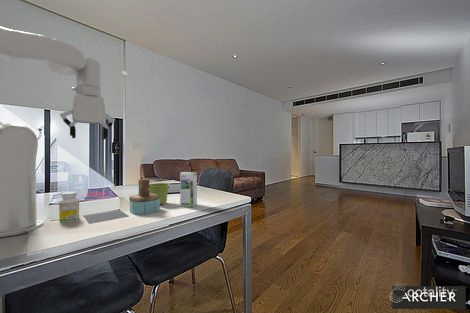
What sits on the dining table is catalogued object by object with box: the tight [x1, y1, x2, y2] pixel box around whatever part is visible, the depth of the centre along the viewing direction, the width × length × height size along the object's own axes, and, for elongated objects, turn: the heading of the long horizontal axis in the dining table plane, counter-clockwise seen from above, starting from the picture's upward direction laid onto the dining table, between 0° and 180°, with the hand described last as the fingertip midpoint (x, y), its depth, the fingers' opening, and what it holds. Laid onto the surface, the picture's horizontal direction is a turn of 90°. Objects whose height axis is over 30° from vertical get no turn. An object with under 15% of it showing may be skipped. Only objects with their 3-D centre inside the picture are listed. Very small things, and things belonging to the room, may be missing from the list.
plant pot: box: [149, 182, 171, 205], centre depth 100 cm, size 9×9×9 cm
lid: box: [128, 178, 158, 202], centre depth 86 cm, size 10×10×8 cm
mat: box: [82, 209, 130, 225], centre depth 79 cm, size 12×12×1 cm
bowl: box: [129, 198, 161, 215], centre depth 86 cm, size 10×10×5 cm
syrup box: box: [179, 171, 198, 208], centre depth 96 cm, size 6×6×14 cm
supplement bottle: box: [58, 191, 80, 223], centre depth 75 cm, size 5×5×10 cm
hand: (89, 138), depth 83 cm, fingers open, 9 cm apart
